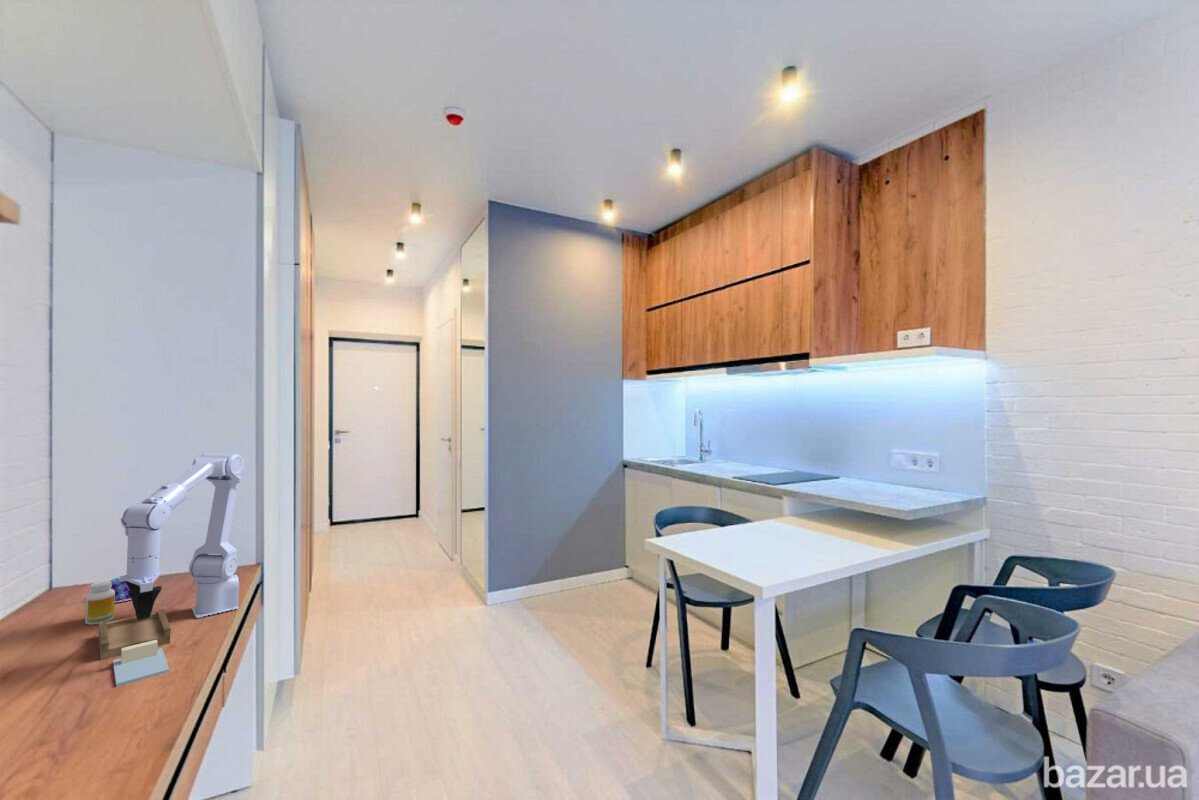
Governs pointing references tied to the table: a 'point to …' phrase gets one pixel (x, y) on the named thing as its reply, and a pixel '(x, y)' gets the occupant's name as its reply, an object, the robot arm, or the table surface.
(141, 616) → the robot arm
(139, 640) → the box
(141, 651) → the lid
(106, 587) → the supplement bottle
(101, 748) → the table surface
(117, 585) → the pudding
